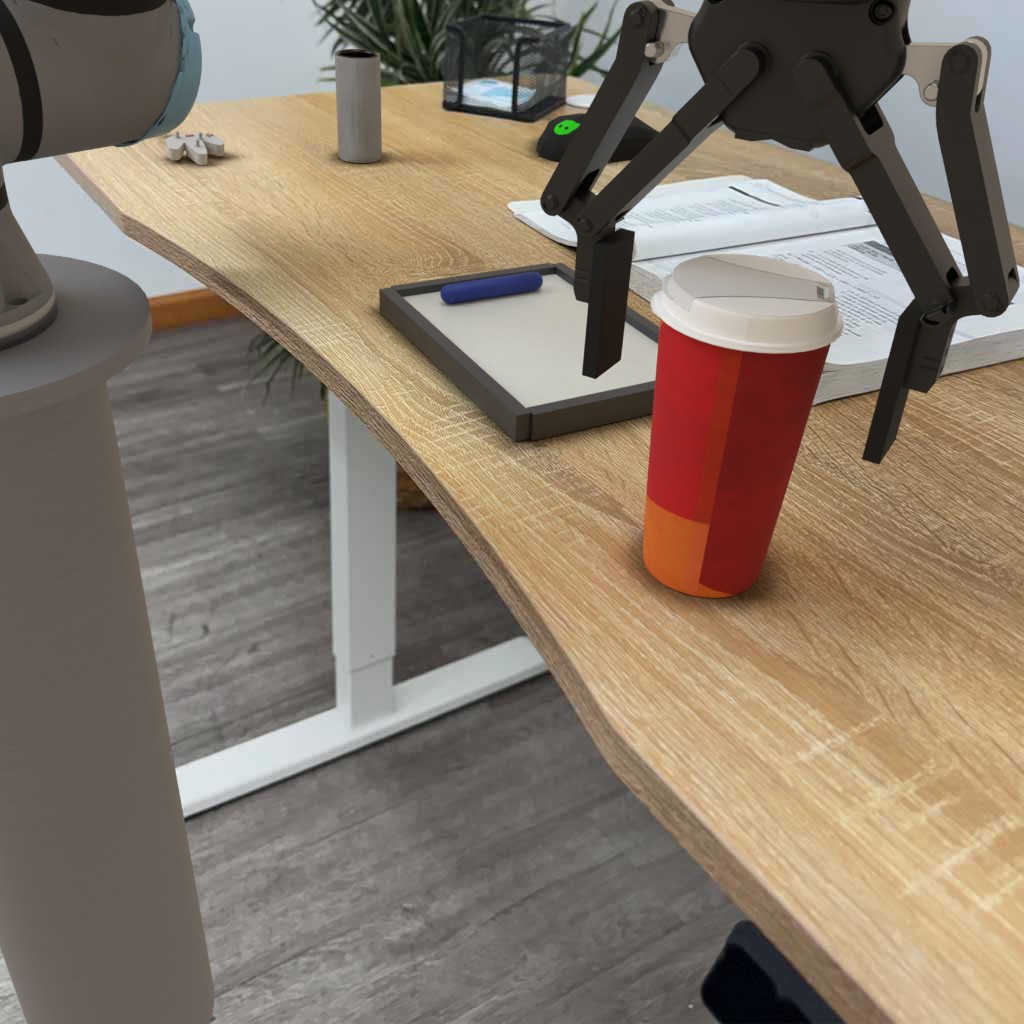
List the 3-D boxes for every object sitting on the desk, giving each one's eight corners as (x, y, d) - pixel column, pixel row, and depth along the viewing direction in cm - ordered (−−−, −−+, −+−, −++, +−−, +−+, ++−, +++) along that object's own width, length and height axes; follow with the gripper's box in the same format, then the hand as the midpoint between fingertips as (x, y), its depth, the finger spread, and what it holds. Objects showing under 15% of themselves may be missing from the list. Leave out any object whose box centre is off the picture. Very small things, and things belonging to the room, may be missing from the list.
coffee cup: (783, 531, 57) (847, 262, 48) (781, 626, 50) (854, 332, 42) (628, 505, 58) (665, 239, 50) (605, 594, 51) (643, 303, 43)
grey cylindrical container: (348, 165, 109) (345, 58, 104) (331, 153, 112) (327, 49, 107) (388, 161, 111) (387, 56, 106) (371, 150, 114) (369, 47, 109)
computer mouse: (508, 143, 120) (510, 106, 117) (614, 127, 128) (618, 92, 126) (574, 169, 112) (578, 130, 110) (682, 150, 121) (687, 113, 119)
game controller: (188, 169, 105) (184, 142, 104) (120, 146, 111) (116, 120, 110) (234, 158, 109) (231, 132, 108) (166, 136, 115) (163, 111, 113)
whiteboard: (377, 310, 79) (377, 276, 77) (558, 282, 85) (561, 250, 84) (517, 444, 63) (520, 405, 62) (725, 397, 70) (731, 361, 68)
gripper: (1232, -107, 35) (1030, 452, 46) (569, -151, 45) (540, 315, 57) (1225, -101, 29) (998, 531, 41) (473, -152, 40) (462, 363, 51)
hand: (732, 406), depth 49 cm, fingers open, 13 cm apart
